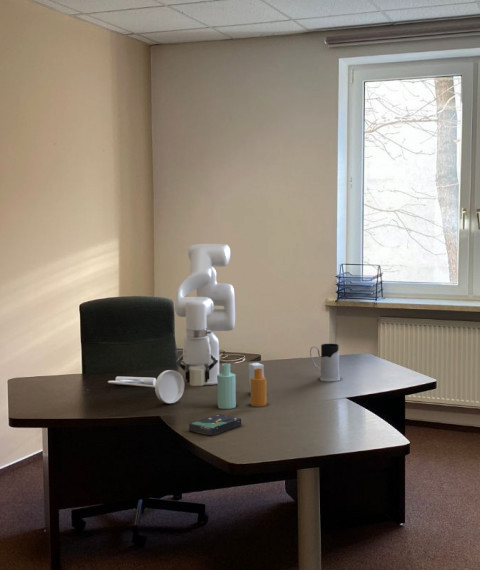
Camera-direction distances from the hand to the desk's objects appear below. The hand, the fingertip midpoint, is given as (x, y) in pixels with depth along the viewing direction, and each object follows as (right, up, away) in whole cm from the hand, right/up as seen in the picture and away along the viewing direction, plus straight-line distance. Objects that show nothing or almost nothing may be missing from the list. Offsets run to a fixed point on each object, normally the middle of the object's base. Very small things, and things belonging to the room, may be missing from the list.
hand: (197, 381), depth 273 cm
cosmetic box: (+21, -8, +21) cm, 31 cm away
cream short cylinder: (0, -1, 0) cm, 1 cm away
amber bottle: (+22, -9, +4) cm, 25 cm away
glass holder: (+49, -5, +49) cm, 69 cm away
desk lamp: (-24, -8, +26) cm, 36 cm away
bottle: (+11, -10, +1) cm, 14 cm away
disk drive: (+9, -12, -27) cm, 31 cm away
